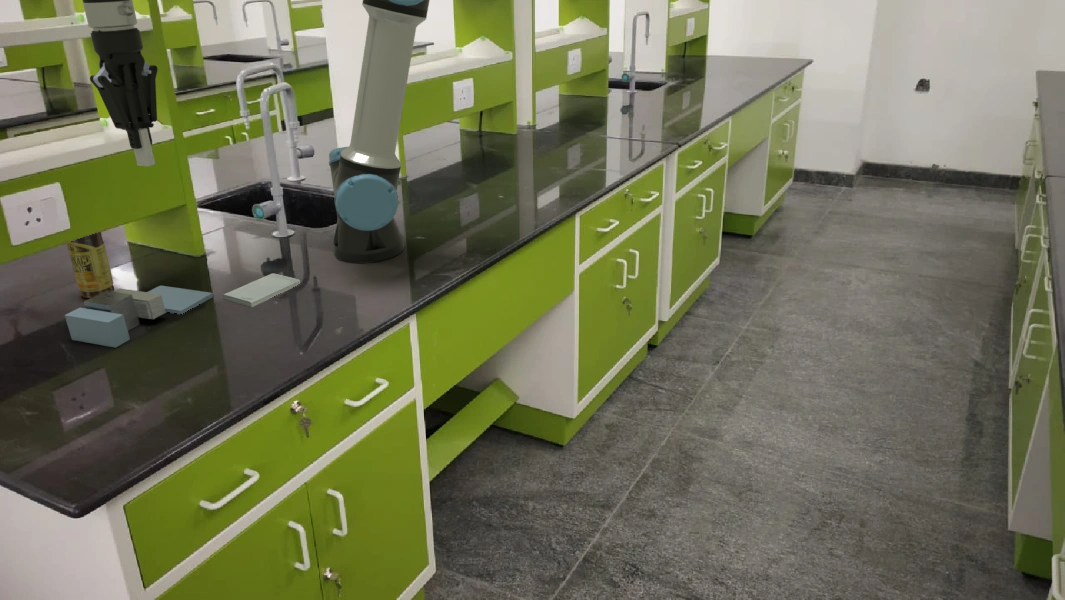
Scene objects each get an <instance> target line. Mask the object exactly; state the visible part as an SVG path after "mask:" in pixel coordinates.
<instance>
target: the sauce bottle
mask: <svg viewBox="0 0 1065 600" xmlns="http://www.w3.org/2000/svg"><path fill="white" fill-rule="evenodd" d="M102 235H103V234H102V231H101V232H98V233H95V234H92V235H89V236H86V237H83V238H80V239H77V240H75V241H71V242H69V243H67V242H66V245H67V251H68V254H69V257H70V261H71V265H72V269H73V273H74V276H75V281H76V285H77V288H78V290H79V293H80V295H81V297H83V298H85V299H90V298H92V297H94V296H96V295H98V294H100V293H103V292H105V291H112V292H113V291H115V286H114V280H113V279H114V278H113V275H112V272H111V267H110V264H109V258H108V255H107V254H108V253H107V249H106V246H105V242H104V240H103V236H102Z"/></svg>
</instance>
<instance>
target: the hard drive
mask: <svg viewBox="0 0 1065 600" xmlns="http://www.w3.org/2000/svg"><path fill="white" fill-rule="evenodd" d="M300 283H301V279H298V278H294V277H290V276H286V275H281V274H277V273H274V272H273V273H269V274H268V275H266V276H263V277H260V278H258V279H256V280H253V281H251V282H249V283H247V284H245V285H243V286H240V287H238V288H235V289H233V290H231V291H228V292H226V293H224V294H222V300H224V299H225V301H228V302H231V301H232V303H235V304H239V305H243V306H246V307H249V308H254V307H255V306H257V305H258V306H259V305H260V304H262V303H265V302H266V301H269V300H270V298H271V299H272V297H273V298H274V296H275V297H277V296H279V295H281V294H283V293H285V292H286V291H289V290H292V289H293V287H294V288H295V286H296V287H298V286H299V285H298V284H300ZM297 285H298V286H297ZM300 285H301V284H300ZM280 293H281V294H280ZM278 294H279V295H278ZM276 295H277V296H276Z"/></svg>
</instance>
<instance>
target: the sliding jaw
mask: <svg viewBox="0 0 1065 600" xmlns="http://www.w3.org/2000/svg"><path fill="white" fill-rule="evenodd" d="M113 292H119V293H126V294H132V297H133V300H134V304H135V308H136V312H137V316H138V318H141V319H147V320H155V319H156V318H159V317H160V316H162V315H164V314H166V313H167V312H166V311H165V307H164V303H163V299H162V295H161V294H154V293H148V291H147V292H146V291H140V290H139V291H138V290H133V289H126V288H117V289H114V290H113Z"/></svg>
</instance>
